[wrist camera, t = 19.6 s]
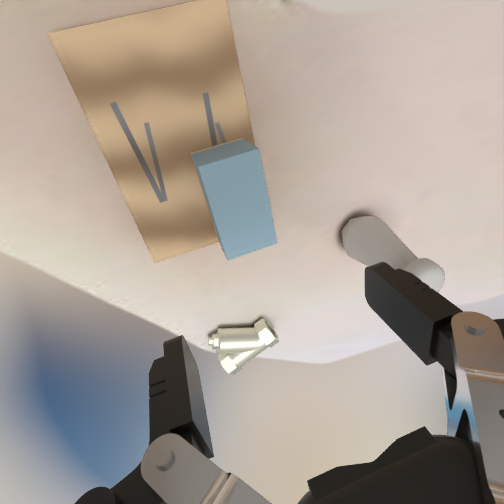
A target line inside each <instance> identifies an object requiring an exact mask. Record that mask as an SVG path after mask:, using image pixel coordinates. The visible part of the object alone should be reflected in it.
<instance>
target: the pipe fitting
mask: <svg viewBox="0 0 504 504" xmlns="http://www.w3.org/2000/svg"><path fill="white" fill-rule="evenodd" d="M277 342H279V338H278V336H277V334H276V332H275V330H274V329H273V327H272V326H271V325H270V324H269V323H268V321H267V320H265V319H260V320H259V321H258V322H256V323H255V324H254V327H252V328H218V329H217V332H216V334H213V335H212V338H208V345H212V349H216V351H217V354H218V359H219V361H220V363H221V365H222V367H223V368H224V369H225V371H226V372H228V373H229V374H236V373H237V372H238V371H240V370H241V369H242V366H243V365H244V364H246V363H247V362H249V361H250V360H251V359H253V358H254V357H255V356H257V355H258V354H259V353H261V352H262V351H264V350H265V349H266V348H268V347H272V346H273V345H275V344H276V343H277Z"/></svg>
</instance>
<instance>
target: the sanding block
mask: <svg viewBox="0 0 504 504" xmlns="http://www.w3.org/2000/svg"><path fill="white" fill-rule="evenodd" d="M191 157H192V160H193V163H194V166H195V169H196V172H197V175H198V179H199V182H200V185H201V188H202V191H203V194H204V197H205V200H206V204H207V207H208V210H209V213H210V216H211V219H212V222H213V225H214V229H215V232H216V235H217V238H218V240H219V242H220V244H221V247H222V249H223V251H224V254H225V256H226V258H227V260H230V259H233V258H236V257H239V256H241V255H244V254H247V253H250V252H253V251H256V250H259V249H261V248H264V247H267V246H270V245H273V244H276V243H277V239H276V234H275V229H274V224H273V219H272V214H271V208H270V203H269V198H268V193H267V188H266V183H265V178H264V173H263V168H262V163H261V158H260V153H259V148H257V147H256V146H254V145H252V144H251V143H249V142H248V141H246V140H245V139H243V138H240V139H236V140H233V141H230V142H226V143H223V144H219V145H216V146H213V147H209V148H206V149H203V150H199V151H196V152H192V153H191Z"/></svg>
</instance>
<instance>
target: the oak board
mask: <svg viewBox="0 0 504 504" xmlns="http://www.w3.org/2000/svg"><path fill="white" fill-rule="evenodd" d="M47 34H48V36H49V38H50V40H51V43H52V45H53V47H54V49H55V51H56V53H57V55H58V57H59V60H60V62H61V64H62V66H63V68H64V70H65V72H66V75H67V77H68V79H69V81H70V83H71V85H72V87H73V90H74V92H75V94H76V96H77V98H78V100H79V102H80V105H81V107H82V109H83V111H84V113H85V115H86V117H87V120H88V122H89V124H90V126H91V128H92V130H93V132H94V135H95V137H96V139H97V141H98V143H99V145H100V147H101V150H102V152H103V154H104V156H105V158H106V160H107V162H108V164H109V167H110V169H111V171H112V173H113V175H114V177H115V179H116V182H117V184H118V186H119V188H120V190H121V192H122V194H123V197H124V199H125V201H126V203H127V205H128V207H129V209H130V212H131V214H132V216H133V218H134V220H135V222H136V224H137V227H138V229H139V231H140V233H141V235H142V237H143V239H144V242H145V244H146V246H147V248H148V250H149V252H150V254H151V256H152V259H153V261H154V263H156V262H159V261H162V260H165V259H168V258H171V257H174V256H177V255H180V254H183V253H186V252H189V251H192V250H195V249H198V248H201V247H204V246H207V245H210V244H213V243H216V242H219V240H218V238H217V235H216V232H215V229H214V225H213V222H212V219H211V216H210V213H209V210H208V207H207V204H206V200H205V197H204V194H203V191H202V188H201V185H200V182H199V179H198V175H197V172H196V169H195V166H194V163H193V160H192V157H191V153H192V152H196V151H199V150H203V149H206V148H209V147H213V146H216V145H219V144H223V143H226V142H230V141H233V140H236V139H240V138H243V139H245V140H246V141H248V142H249V143H251V144H252V145H254V146H255V144H254V139H253V134H252V129H251V124H250V119H249V114H248V109H247V104H246V99H245V94H244V89H243V84H242V79H241V74H240V69H239V64H238V59H237V54H236V49H235V44H234V39H233V34H232V29H231V24H230V18H229V13H228V8H227V3H226V0H196V1H192V2H187V3H183V4H178V5H174V6H169V7H165V8H160V9H156V10H151V11H147V12H142V13H138V14H133V15H129V16H124V17H119V18H115V19H110V20H106V21H101V22H97V23H92V24H88V25H83V26H79V27H74V28H70V29H65V30H61V31H56V32H52V33H47Z"/></svg>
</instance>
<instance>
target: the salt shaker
mask: <svg viewBox="0 0 504 504" xmlns="http://www.w3.org/2000/svg"><path fill="white" fill-rule="evenodd" d="M341 233H342V239H343V247H344V249H345V251H346V253H347V254H348V256H350V257H352V258H354V259H356V260H357V261H359V262H361V263H363V264H365V265H367V266H371V265H374V264H377V263H379V262H382V261H383V262H386V263H387V264H389V265H390V266H391V267H392V268H394V269H395V270H396V269H398V268H400V269H402V270H405V271H407V272H410V273H412V274H414V275H415V276H416V277H418V278H419V279H420V280H422V282H424V283H426V284H427V285H428V286H430V288H432V289H434V290H435V291H436V292H439V290H440V289H441V287H442V286H443V283H444V280H445V274H444V271H443V269H442V268H441V267H440V266H439V265H438V264H436V263H435V262H433V261H431V260H430V259H427V258H421V259H418V258H417V257H416V256H415V255H414V254H413V253H412V252H411V251H410V250H409V248H408V247H407V246H406V245H405V244H404V243H403V242H402V241H401V240H400V239H399V238H398V237H397V235H396V234H395V233H394V232H393V231H392V230H391V229H390V228H389V227H388V226H387V225H386V224H385V223H384V222H383V221H382V220H380V219H379V218H377V217H375V216H361V217H356V218H352V219H349V221H348V222H347V223H346V225H345V226H344V228H343V229H342V230H341Z"/></svg>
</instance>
